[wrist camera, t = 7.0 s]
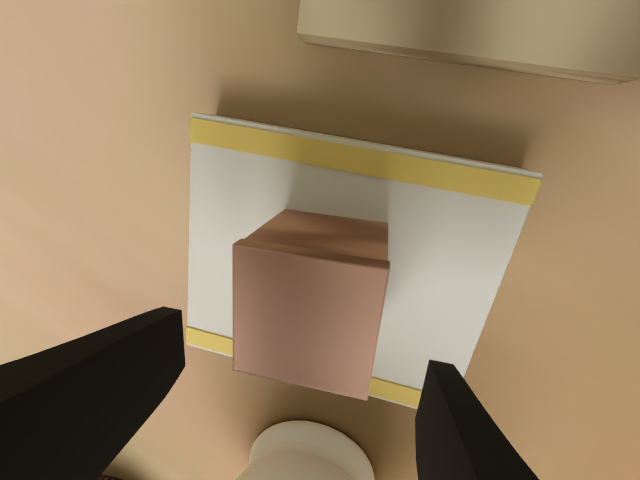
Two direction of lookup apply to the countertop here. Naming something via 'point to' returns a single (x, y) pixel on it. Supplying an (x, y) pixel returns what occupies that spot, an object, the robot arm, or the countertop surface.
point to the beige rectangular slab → (488, 33)
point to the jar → (306, 454)
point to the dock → (367, 204)
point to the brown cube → (310, 300)
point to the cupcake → (107, 478)
